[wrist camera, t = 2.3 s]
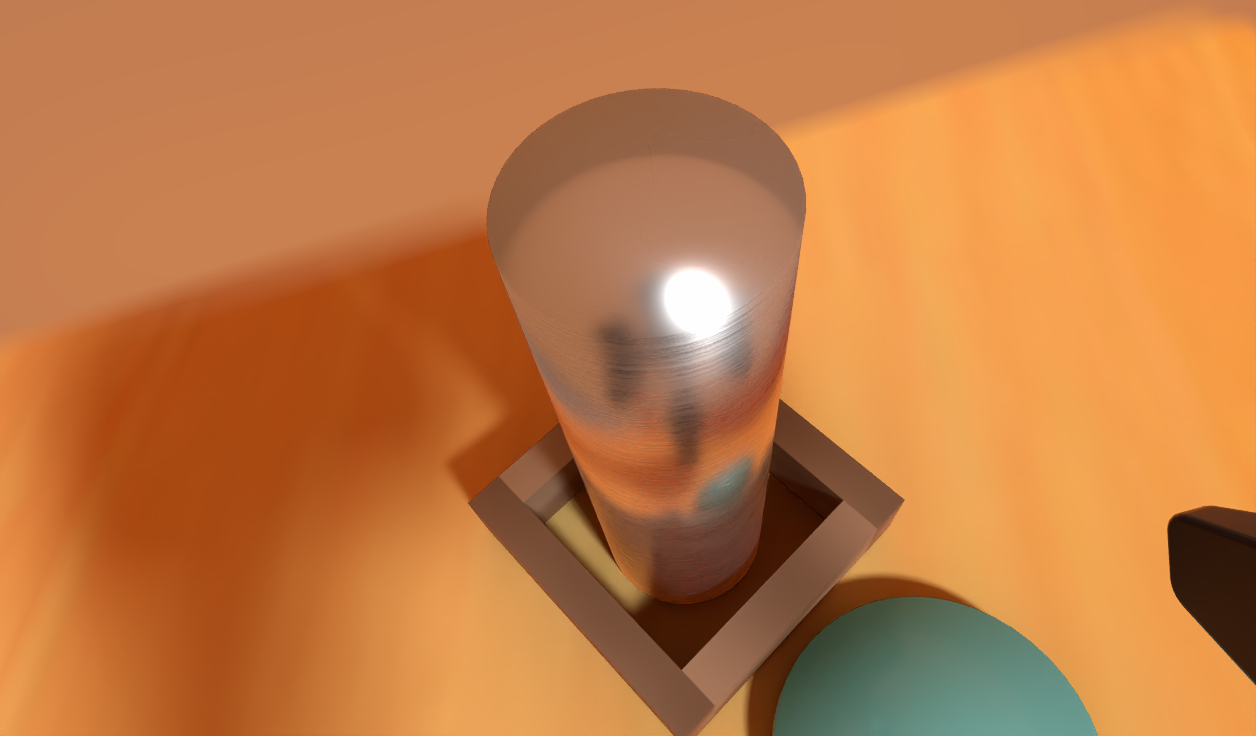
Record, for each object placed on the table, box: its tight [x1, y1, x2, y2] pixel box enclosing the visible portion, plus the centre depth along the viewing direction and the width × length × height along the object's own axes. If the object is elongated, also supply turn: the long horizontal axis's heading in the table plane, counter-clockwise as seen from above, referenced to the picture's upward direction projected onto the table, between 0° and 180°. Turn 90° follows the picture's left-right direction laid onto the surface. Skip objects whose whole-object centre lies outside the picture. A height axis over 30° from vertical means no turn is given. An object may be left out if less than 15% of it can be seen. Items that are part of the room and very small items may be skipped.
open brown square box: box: [468, 399, 904, 736], centre depth 21 cm, size 8×8×2 cm
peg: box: [487, 88, 806, 604], centre depth 16 cm, size 4×4×13 cm
